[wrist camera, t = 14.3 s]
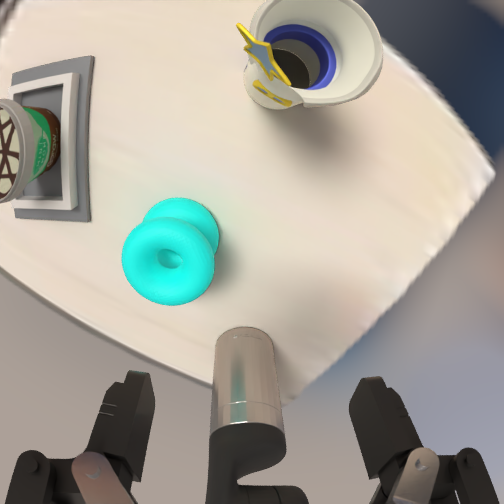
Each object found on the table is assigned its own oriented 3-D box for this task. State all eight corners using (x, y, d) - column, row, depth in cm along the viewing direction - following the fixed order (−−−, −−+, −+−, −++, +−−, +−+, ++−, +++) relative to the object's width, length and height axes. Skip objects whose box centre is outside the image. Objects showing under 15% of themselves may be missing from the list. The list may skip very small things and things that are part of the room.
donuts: (145, 319, 32) (101, 242, 27) (163, 275, 41) (132, 211, 36) (228, 296, 31) (189, 208, 26) (230, 253, 40) (202, 183, 35)
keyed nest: (90, 219, 36) (81, 227, 34) (19, 215, 35) (8, 222, 33) (94, 56, 27) (83, 53, 24) (16, 73, 26) (4, 73, 23)
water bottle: (290, 128, 33) (391, 157, 10) (227, 90, 31) (199, 30, 8) (327, 74, 30) (470, 29, 7) (265, 35, 28) (314, -90, 5)
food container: (69, 186, 33) (26, 211, 24) (35, 184, 33) (-9, 208, 24) (74, 93, 28) (27, 92, 19) (38, 97, 27) (-11, 100, 18)
